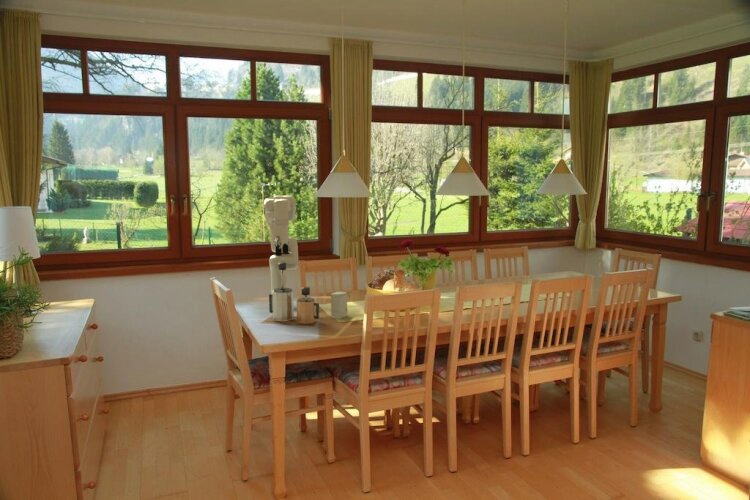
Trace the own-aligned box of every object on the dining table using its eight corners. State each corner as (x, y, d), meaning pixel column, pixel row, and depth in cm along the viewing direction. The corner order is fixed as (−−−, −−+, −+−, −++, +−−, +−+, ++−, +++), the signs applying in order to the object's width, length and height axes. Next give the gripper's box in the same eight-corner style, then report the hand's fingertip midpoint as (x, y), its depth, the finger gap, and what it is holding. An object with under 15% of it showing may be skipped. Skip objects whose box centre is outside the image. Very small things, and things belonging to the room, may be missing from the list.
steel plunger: (279, 294, 315) (278, 261, 312) (292, 295, 313) (291, 262, 310) (273, 297, 307) (272, 263, 305) (286, 298, 306) (286, 264, 303)
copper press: (300, 319, 313) (300, 296, 311) (321, 320, 310) (321, 297, 308) (294, 323, 303) (294, 300, 302) (315, 325, 301) (315, 301, 299)
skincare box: (339, 321, 313) (339, 294, 311) (330, 319, 316) (330, 293, 314) (347, 317, 321) (347, 291, 319) (338, 316, 324) (338, 290, 321)
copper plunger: (302, 313, 310) (302, 286, 308) (313, 314, 309) (313, 286, 307) (298, 316, 304) (297, 288, 302) (309, 317, 303) (309, 289, 301)
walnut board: (273, 316, 322) (273, 314, 322) (324, 320, 315) (324, 318, 315) (260, 325, 305) (260, 322, 304) (313, 328, 298) (313, 326, 298)
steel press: (274, 315, 319) (273, 286, 317) (296, 317, 316) (295, 288, 314) (265, 320, 308) (265, 290, 306) (288, 322, 305) (288, 292, 303)
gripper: (281, 221, 314) (281, 252, 316) (268, 224, 297) (269, 256, 299) (294, 221, 312) (294, 252, 314) (281, 224, 295) (282, 257, 297)
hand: (282, 254), depth 307 cm, fingers open, 9 cm apart
